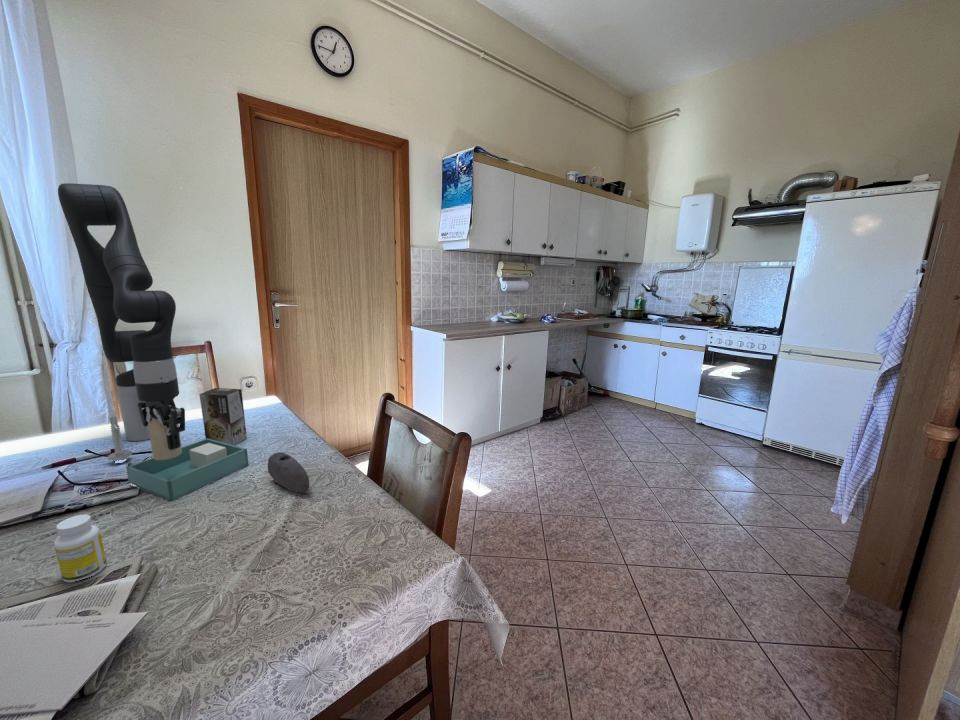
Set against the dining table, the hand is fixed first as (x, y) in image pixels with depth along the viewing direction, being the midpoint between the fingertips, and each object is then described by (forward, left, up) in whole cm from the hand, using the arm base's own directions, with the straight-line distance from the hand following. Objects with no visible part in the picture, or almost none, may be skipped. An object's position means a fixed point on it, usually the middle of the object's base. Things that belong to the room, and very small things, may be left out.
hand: (166, 445), depth 93 cm
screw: (-24, +1, -10) cm, 26 cm away
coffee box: (-12, +22, -10) cm, 27 cm away
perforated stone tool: (+27, +11, -10) cm, 31 cm away
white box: (0, +9, -10) cm, 13 cm away
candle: (0, 0, -3) cm, 3 cm away
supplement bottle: (+18, -24, -10) cm, 32 cm away
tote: (0, +5, -10) cm, 11 cm away
